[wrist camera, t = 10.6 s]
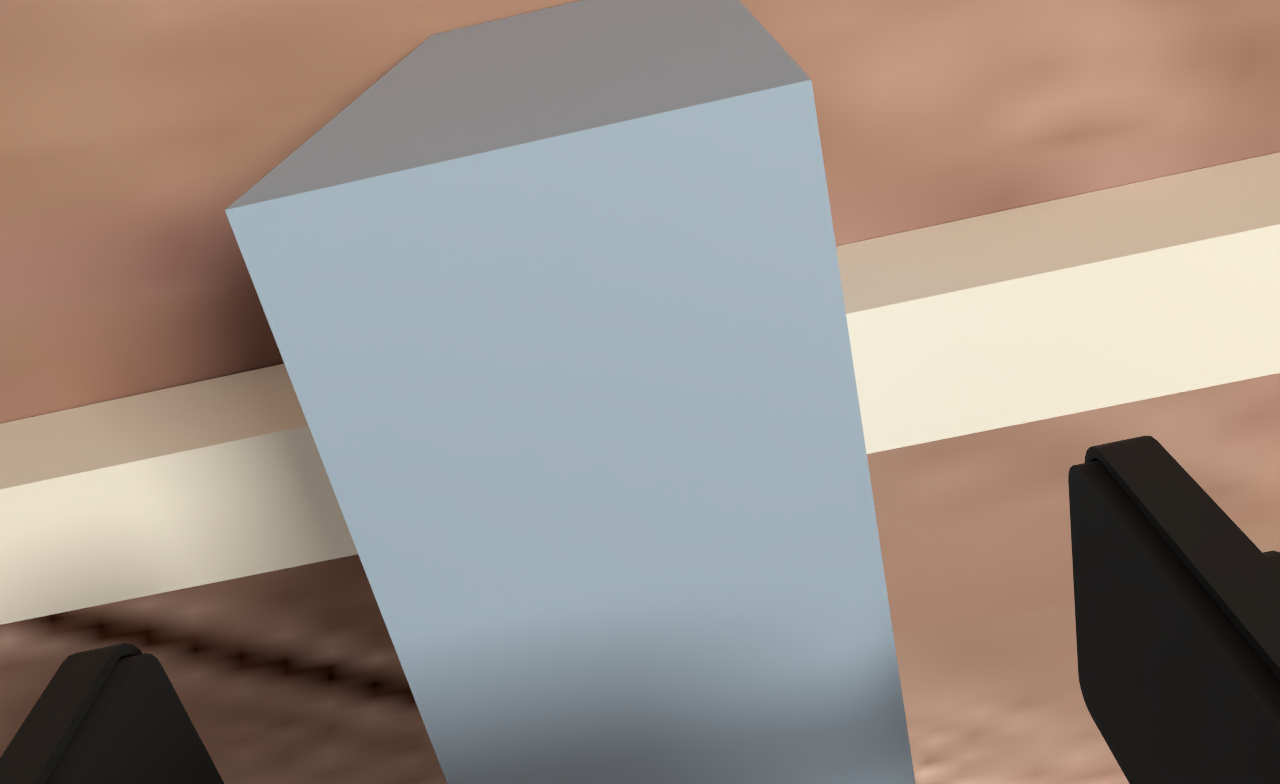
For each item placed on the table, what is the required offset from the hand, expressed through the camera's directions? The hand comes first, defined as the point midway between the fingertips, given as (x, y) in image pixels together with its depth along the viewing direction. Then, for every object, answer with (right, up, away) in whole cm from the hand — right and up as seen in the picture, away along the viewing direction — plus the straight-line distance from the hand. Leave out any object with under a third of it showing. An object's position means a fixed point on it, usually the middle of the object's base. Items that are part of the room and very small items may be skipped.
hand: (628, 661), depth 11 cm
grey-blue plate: (0, +4, +9) cm, 9 cm away
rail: (0, +3, +9) cm, 9 cm away
